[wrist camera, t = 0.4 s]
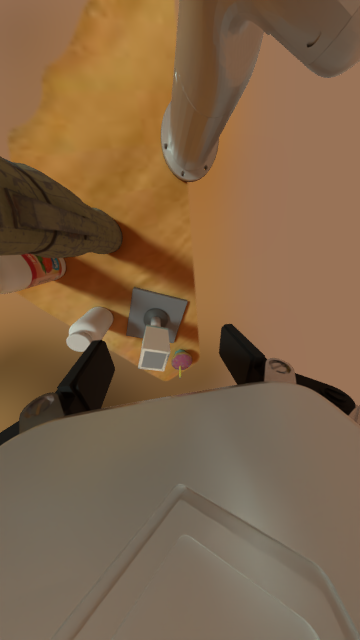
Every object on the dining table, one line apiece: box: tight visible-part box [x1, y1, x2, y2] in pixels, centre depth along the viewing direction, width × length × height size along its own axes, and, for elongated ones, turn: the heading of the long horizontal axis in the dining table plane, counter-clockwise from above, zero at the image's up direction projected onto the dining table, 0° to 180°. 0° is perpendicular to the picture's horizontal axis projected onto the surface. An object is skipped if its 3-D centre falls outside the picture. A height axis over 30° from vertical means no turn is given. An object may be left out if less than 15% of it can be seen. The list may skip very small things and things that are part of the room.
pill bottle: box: [66, 307, 113, 352], centre depth 39 cm, size 8×8×15 cm
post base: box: [126, 287, 187, 343], centre depth 43 cm, size 18×18×12 cm
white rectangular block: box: [138, 325, 170, 371], centre depth 34 cm, size 6×6×10 cm
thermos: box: [0, 157, 123, 258], centre depth 20 cm, size 9×12×35 cm
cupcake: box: [172, 350, 192, 377], centre depth 53 cm, size 9×8×12 cm
